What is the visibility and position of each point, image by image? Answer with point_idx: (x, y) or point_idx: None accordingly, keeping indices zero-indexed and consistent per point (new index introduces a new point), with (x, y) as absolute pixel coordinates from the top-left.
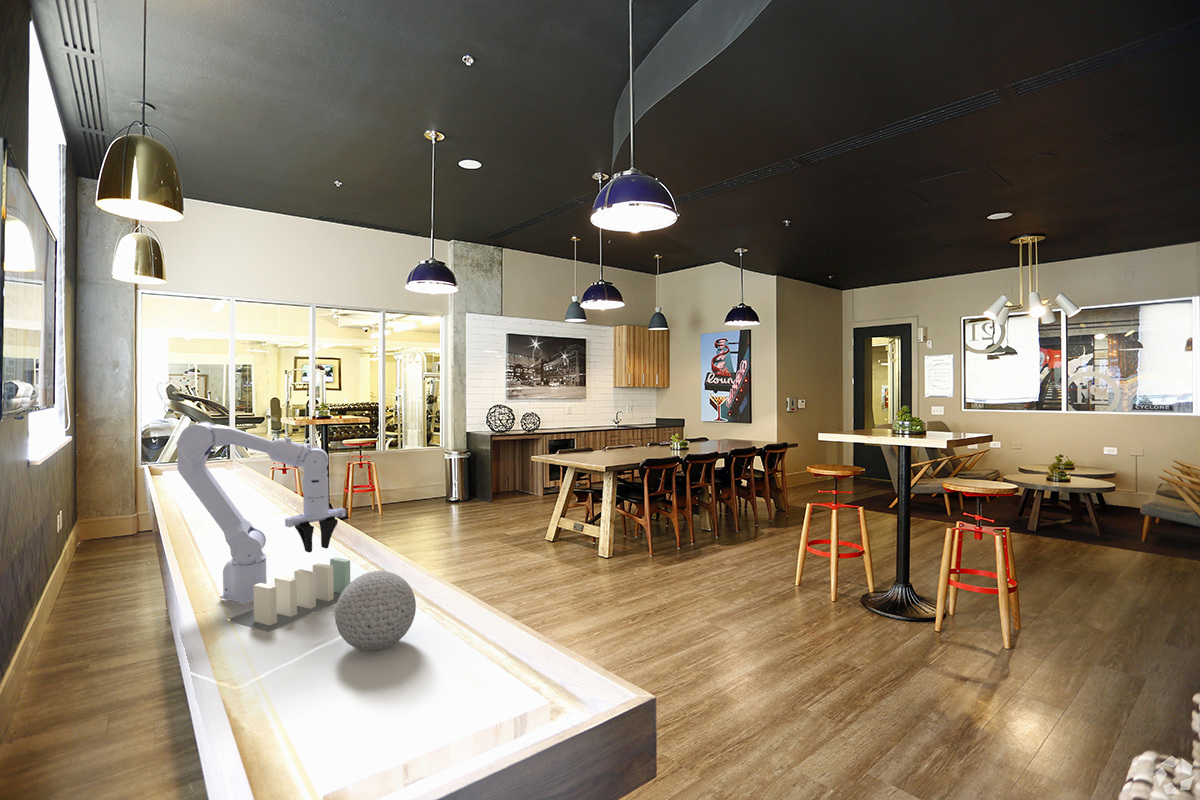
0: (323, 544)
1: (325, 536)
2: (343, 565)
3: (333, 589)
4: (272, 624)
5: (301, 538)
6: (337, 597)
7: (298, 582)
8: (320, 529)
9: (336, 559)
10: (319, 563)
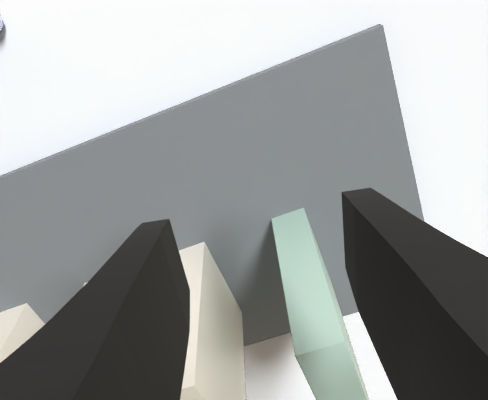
0: (352, 254)
1: (399, 361)
2: None
3: (243, 345)
4: None
5: (46, 331)
6: (261, 306)
7: None
8: (451, 318)
9: (325, 381)
10: (198, 394)
